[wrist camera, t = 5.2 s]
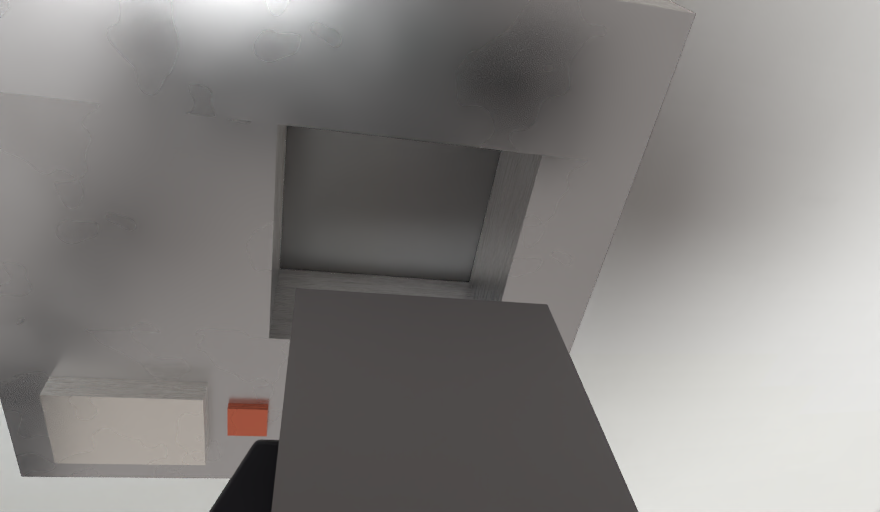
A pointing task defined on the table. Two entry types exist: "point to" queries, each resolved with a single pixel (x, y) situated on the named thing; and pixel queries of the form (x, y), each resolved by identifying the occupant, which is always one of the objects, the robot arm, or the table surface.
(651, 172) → the table surface
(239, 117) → the faceplate
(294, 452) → the plug
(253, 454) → the robot arm
